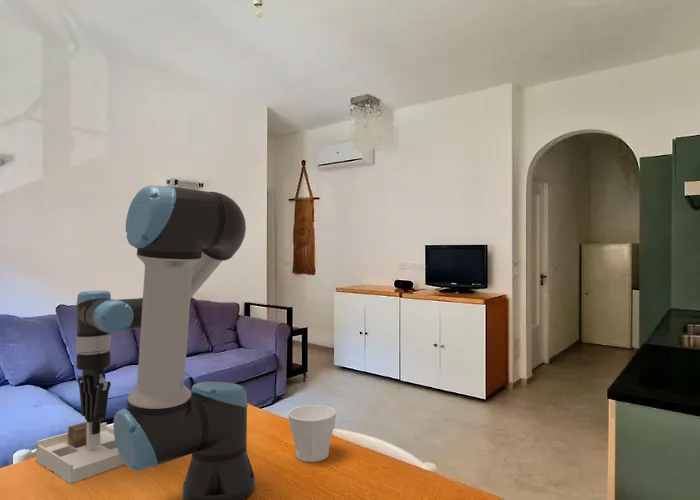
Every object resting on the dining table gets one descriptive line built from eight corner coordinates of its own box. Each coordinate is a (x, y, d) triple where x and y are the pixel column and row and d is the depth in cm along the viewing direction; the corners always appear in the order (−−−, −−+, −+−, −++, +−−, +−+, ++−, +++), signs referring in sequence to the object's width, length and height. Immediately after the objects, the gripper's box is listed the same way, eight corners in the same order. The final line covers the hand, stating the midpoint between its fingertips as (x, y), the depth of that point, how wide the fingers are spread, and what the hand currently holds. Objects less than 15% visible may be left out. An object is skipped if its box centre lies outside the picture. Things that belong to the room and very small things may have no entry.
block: (94, 442, 120) (94, 425, 120) (75, 448, 116) (75, 430, 116) (86, 438, 122) (86, 421, 122) (68, 444, 119) (68, 426, 119)
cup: (325, 469, 110) (325, 422, 111) (279, 461, 114) (279, 417, 115) (343, 449, 122) (342, 407, 122) (300, 443, 126) (300, 402, 126)
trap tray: (142, 458, 117) (142, 438, 117) (70, 483, 103) (70, 461, 103) (105, 440, 129) (105, 422, 129) (36, 461, 115) (36, 441, 115)
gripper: (121, 351, 115) (121, 447, 114) (97, 347, 123) (96, 436, 122) (90, 356, 109) (89, 457, 108) (66, 351, 117) (65, 445, 116)
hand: (93, 446), depth 115 cm, fingers closed
